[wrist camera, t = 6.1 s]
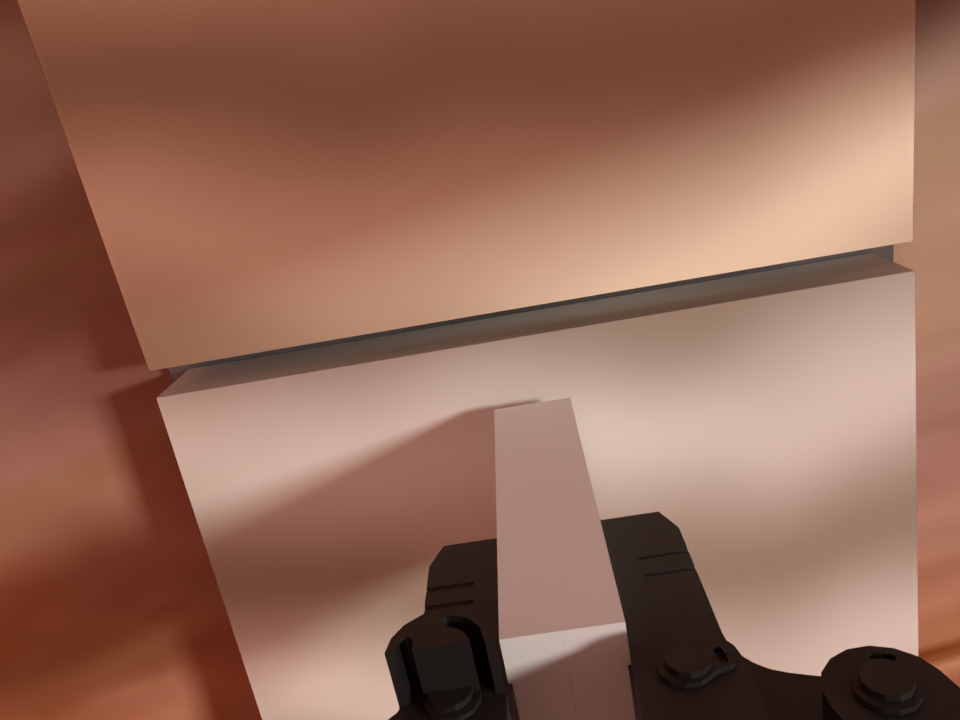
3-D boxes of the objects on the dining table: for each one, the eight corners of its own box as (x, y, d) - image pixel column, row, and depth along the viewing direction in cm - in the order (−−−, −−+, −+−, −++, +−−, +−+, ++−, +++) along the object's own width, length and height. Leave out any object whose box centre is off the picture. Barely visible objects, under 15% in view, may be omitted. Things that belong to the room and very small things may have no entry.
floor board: (-10, -170, 14) (-89, -206, 12) (888, -373, 13) (957, -448, 11) (292, 710, 22) (273, 775, 20) (885, 630, 21) (927, 690, 19)
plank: (188, 368, 18) (155, 398, 16) (871, 253, 17) (914, 271, 15) (299, 723, 21) (281, 779, 19) (881, 644, 20) (918, 697, 18)
